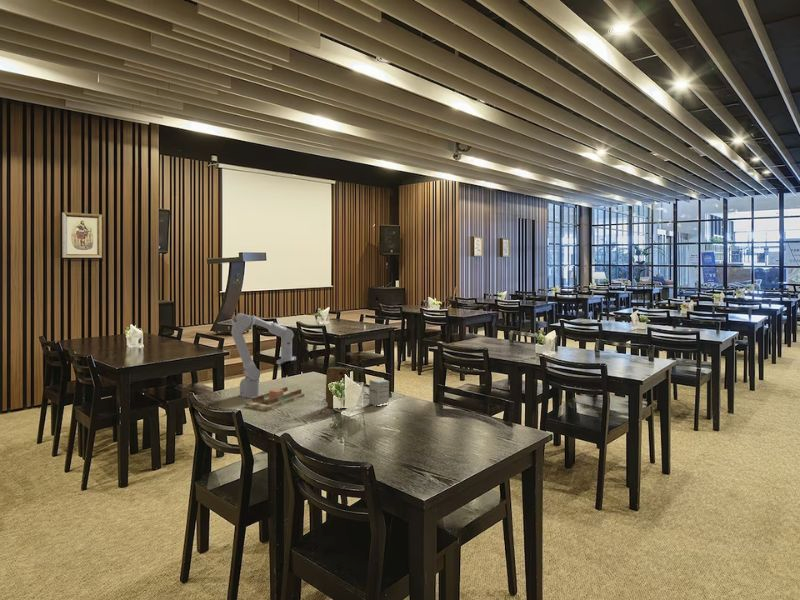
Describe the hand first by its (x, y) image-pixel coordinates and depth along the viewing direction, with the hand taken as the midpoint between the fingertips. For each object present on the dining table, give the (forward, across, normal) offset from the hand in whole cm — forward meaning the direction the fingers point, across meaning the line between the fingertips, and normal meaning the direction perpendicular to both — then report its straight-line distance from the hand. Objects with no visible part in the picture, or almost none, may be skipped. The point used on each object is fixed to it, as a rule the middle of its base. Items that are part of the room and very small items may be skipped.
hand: (286, 375), depth 278 cm
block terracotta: (+7, -18, -8) cm, 22 cm away
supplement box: (+10, +4, -55) cm, 56 cm away
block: (+10, -11, -40) cm, 43 cm away
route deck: (+9, -18, -8) cm, 22 cm away
